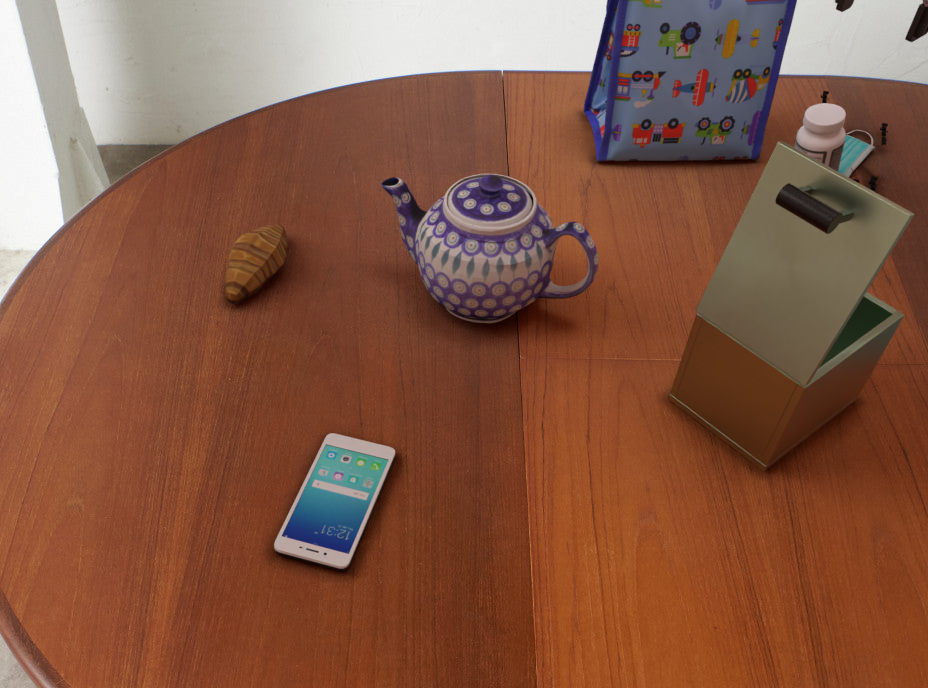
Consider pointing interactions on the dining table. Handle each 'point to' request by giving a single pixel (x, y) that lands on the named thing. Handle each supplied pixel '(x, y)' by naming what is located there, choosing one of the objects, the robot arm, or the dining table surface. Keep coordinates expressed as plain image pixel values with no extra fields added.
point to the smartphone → (335, 502)
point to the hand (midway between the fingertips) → (877, 23)
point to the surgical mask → (856, 151)
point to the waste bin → (776, 384)
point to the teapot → (486, 246)
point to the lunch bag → (686, 78)
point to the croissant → (254, 261)
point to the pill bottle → (823, 134)
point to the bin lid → (800, 261)
